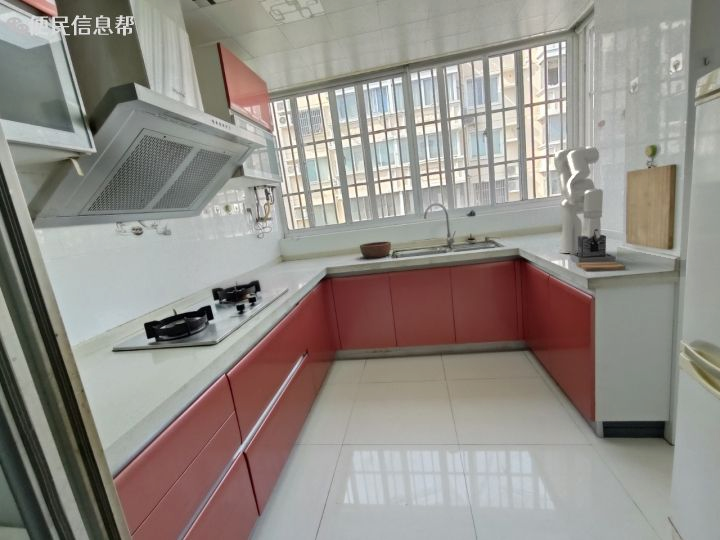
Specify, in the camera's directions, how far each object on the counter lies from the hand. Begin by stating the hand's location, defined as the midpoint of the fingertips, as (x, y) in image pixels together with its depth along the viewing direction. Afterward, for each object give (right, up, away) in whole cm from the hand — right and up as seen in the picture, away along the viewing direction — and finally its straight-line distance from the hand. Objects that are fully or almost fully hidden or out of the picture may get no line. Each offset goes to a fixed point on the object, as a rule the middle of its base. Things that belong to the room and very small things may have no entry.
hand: (591, 249), depth 167 cm
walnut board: (-6, -9, -14) cm, 17 cm away
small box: (0, -3, +1) cm, 3 cm away
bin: (0, -6, 0) cm, 6 cm away
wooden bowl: (-104, +1, +99) cm, 144 cm away
